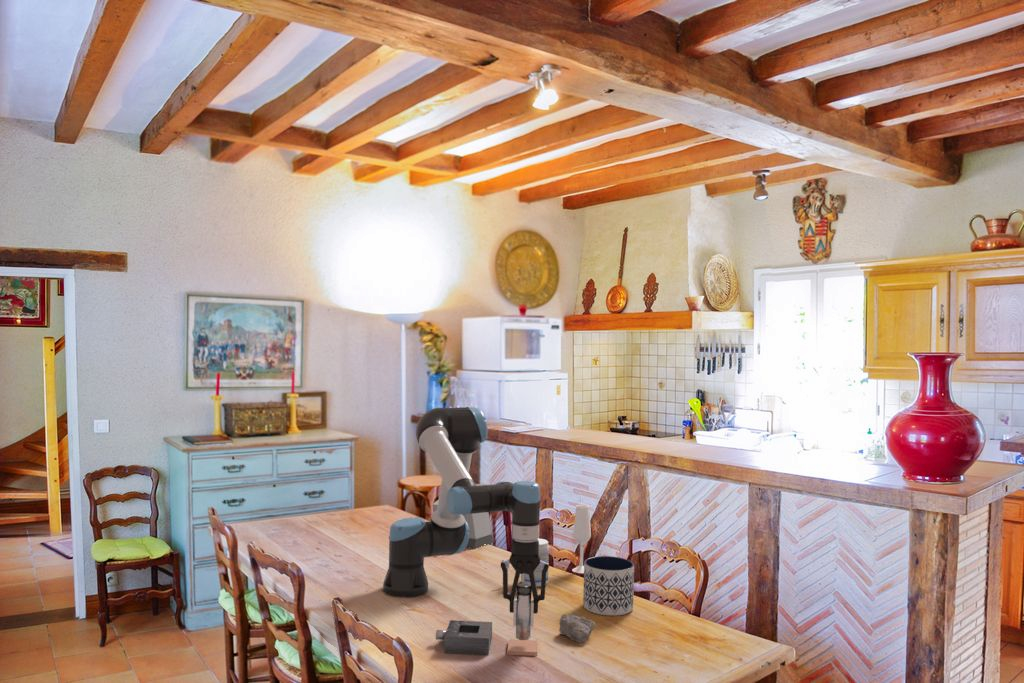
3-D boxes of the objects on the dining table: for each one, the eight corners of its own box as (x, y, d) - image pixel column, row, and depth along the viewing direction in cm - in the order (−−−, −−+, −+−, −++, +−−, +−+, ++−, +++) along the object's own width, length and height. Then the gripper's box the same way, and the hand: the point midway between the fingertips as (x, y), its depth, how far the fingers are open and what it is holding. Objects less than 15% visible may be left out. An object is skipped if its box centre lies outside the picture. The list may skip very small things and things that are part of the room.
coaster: (507, 654, 205) (507, 650, 205) (508, 642, 213) (508, 639, 213) (537, 655, 204) (537, 652, 204) (537, 644, 212) (537, 640, 212)
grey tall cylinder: (515, 639, 206) (516, 588, 206) (516, 634, 210) (517, 583, 210) (530, 640, 206) (531, 588, 206) (530, 634, 210) (531, 584, 210)
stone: (553, 638, 217) (553, 618, 217) (565, 629, 224) (565, 610, 224) (584, 646, 212) (585, 625, 212) (596, 636, 219) (596, 616, 219)
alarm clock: (493, 542, 319) (494, 494, 319) (470, 550, 306) (471, 500, 306) (455, 534, 331) (456, 488, 331) (431, 542, 318) (432, 493, 318)
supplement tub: (553, 584, 265) (554, 542, 265) (531, 589, 260) (532, 546, 260) (537, 577, 273) (538, 536, 273) (515, 581, 268) (516, 539, 268)
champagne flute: (585, 574, 278) (586, 508, 278) (568, 571, 281) (570, 506, 281) (593, 570, 284) (594, 505, 284) (577, 566, 287) (578, 503, 287)
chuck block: (432, 652, 205) (433, 635, 205) (439, 635, 217) (439, 619, 217) (488, 655, 204) (488, 638, 204) (491, 637, 216) (492, 622, 216)
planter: (601, 619, 232) (602, 572, 232) (573, 603, 247) (574, 559, 247) (643, 612, 240) (644, 566, 240) (614, 597, 254) (615, 553, 254)
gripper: (493, 541, 205) (491, 628, 205) (556, 543, 204) (554, 630, 204) (495, 534, 213) (493, 618, 213) (556, 536, 212) (554, 620, 212)
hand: (523, 624), depth 208 cm, fingers closed on grey tall cylinder, 4 cm apart
